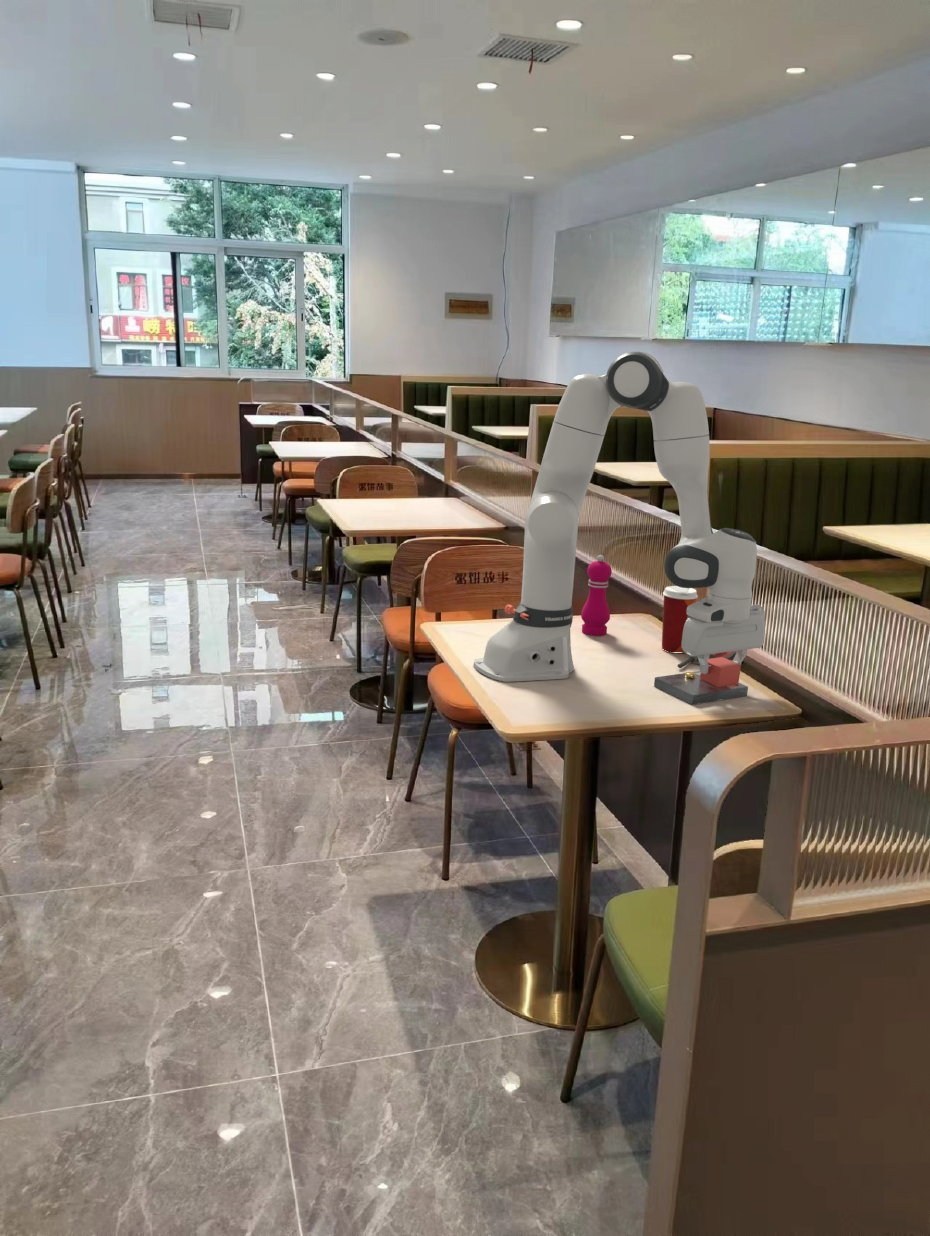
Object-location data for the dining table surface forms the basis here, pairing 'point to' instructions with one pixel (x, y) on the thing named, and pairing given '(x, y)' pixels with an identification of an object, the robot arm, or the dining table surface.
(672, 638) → the coffee cup
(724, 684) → the cap
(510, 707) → the dining table surface
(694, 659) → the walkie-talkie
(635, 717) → the dining table surface
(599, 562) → the pepper mill
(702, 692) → the panel
